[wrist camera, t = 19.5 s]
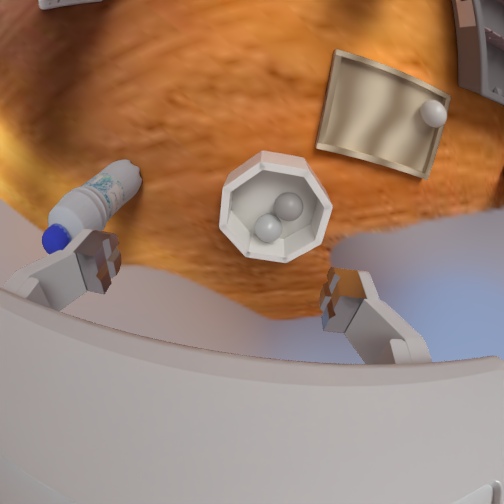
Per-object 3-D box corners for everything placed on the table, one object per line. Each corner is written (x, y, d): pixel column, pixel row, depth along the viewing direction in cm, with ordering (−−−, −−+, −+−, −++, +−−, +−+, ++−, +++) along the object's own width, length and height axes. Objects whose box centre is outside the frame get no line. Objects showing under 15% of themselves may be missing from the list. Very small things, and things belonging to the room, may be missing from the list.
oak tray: (314, 145, 35) (316, 148, 33) (333, 50, 26) (336, 49, 25) (422, 176, 35) (427, 180, 34) (445, 94, 27) (451, 96, 26)
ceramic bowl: (222, 232, 43) (217, 252, 39) (232, 146, 35) (226, 156, 31) (309, 246, 44) (313, 267, 39) (332, 163, 36) (341, 176, 31)
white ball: (412, 119, 30) (426, 124, 27) (418, 94, 27) (433, 96, 24) (434, 128, 30) (448, 134, 27) (440, 104, 28) (455, 108, 24)
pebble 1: (261, 204, 39) (253, 225, 42) (257, 220, 36) (248, 242, 39) (287, 214, 40) (277, 234, 42) (285, 231, 37) (275, 251, 39)
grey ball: (281, 230, 38) (293, 221, 35) (264, 206, 38) (275, 195, 34) (300, 216, 40) (313, 206, 36) (284, 193, 40) (296, 182, 36)
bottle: (143, 199, 41) (76, 281, 24) (108, 189, 40) (33, 262, 24) (149, 160, 37) (69, 229, 21) (112, 151, 36) (23, 212, 20)
